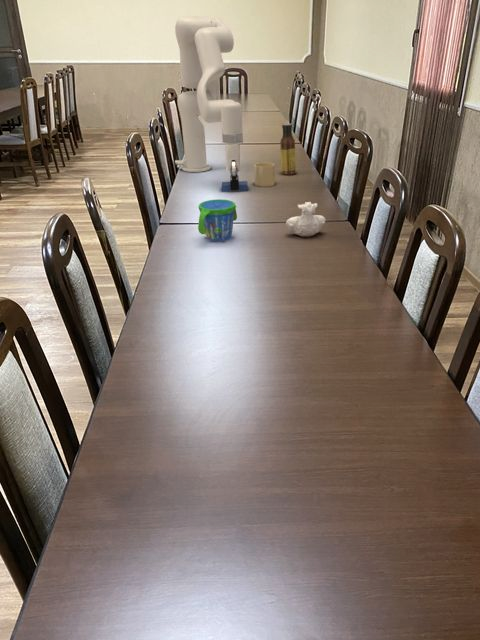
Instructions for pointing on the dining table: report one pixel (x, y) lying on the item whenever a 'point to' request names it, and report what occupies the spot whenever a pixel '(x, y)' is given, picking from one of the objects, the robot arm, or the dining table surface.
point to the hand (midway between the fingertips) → (234, 187)
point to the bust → (305, 221)
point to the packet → (242, 187)
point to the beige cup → (264, 174)
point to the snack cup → (217, 219)
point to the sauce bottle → (288, 151)
